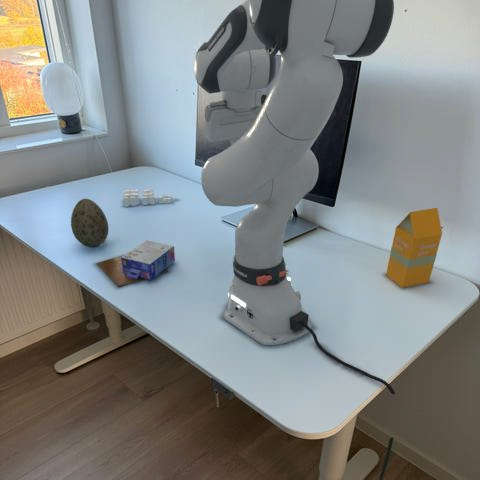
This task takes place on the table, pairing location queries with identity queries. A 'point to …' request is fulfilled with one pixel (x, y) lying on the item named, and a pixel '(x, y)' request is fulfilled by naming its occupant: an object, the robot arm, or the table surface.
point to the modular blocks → (148, 198)
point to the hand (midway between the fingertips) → (239, 154)
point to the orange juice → (415, 248)
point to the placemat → (118, 272)
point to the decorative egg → (89, 223)
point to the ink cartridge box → (148, 260)
